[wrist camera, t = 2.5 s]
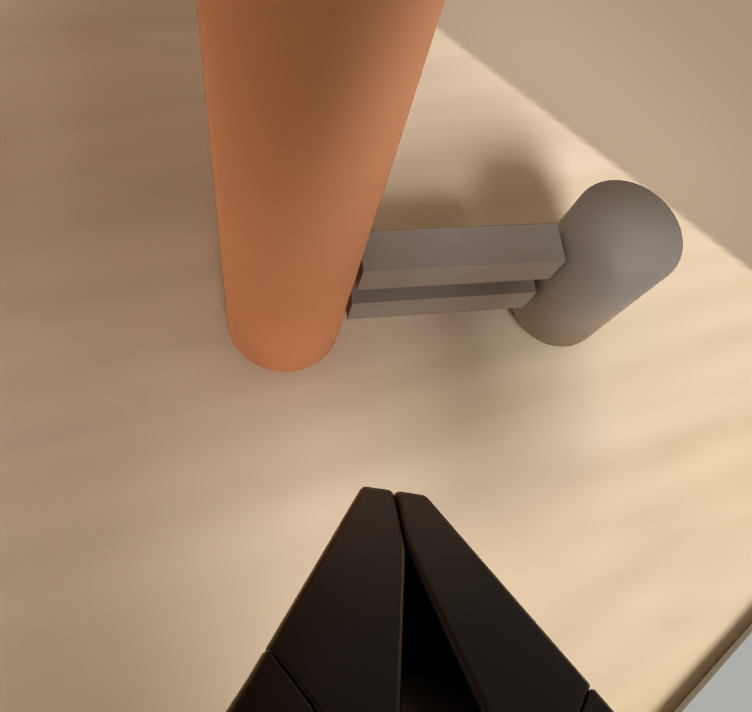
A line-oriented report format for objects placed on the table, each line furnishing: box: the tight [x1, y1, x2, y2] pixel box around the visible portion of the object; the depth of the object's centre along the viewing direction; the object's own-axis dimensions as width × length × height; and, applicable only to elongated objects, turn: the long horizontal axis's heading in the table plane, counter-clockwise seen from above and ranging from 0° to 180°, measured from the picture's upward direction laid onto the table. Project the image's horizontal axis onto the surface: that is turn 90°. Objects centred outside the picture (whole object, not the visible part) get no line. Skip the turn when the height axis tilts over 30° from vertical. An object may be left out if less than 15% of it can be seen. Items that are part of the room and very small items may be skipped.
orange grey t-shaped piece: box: [197, 0, 683, 371], centre depth 13 cm, size 11×3×14 cm, turn 98°
